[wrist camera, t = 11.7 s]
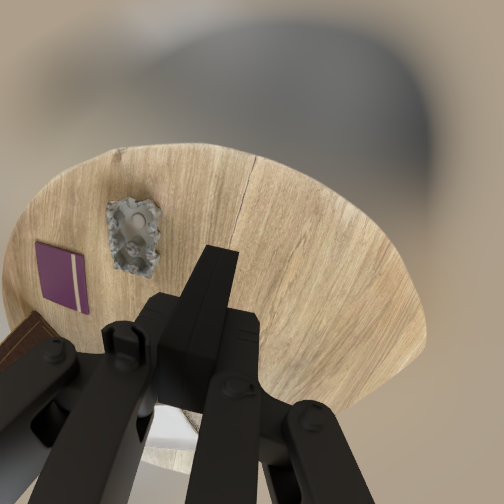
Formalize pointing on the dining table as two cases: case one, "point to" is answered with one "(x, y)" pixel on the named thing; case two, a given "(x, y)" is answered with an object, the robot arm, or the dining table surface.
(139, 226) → the egg carton
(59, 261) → the tea towel
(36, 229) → the dining table surface
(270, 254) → the dining table surface
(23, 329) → the book
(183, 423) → the plate
